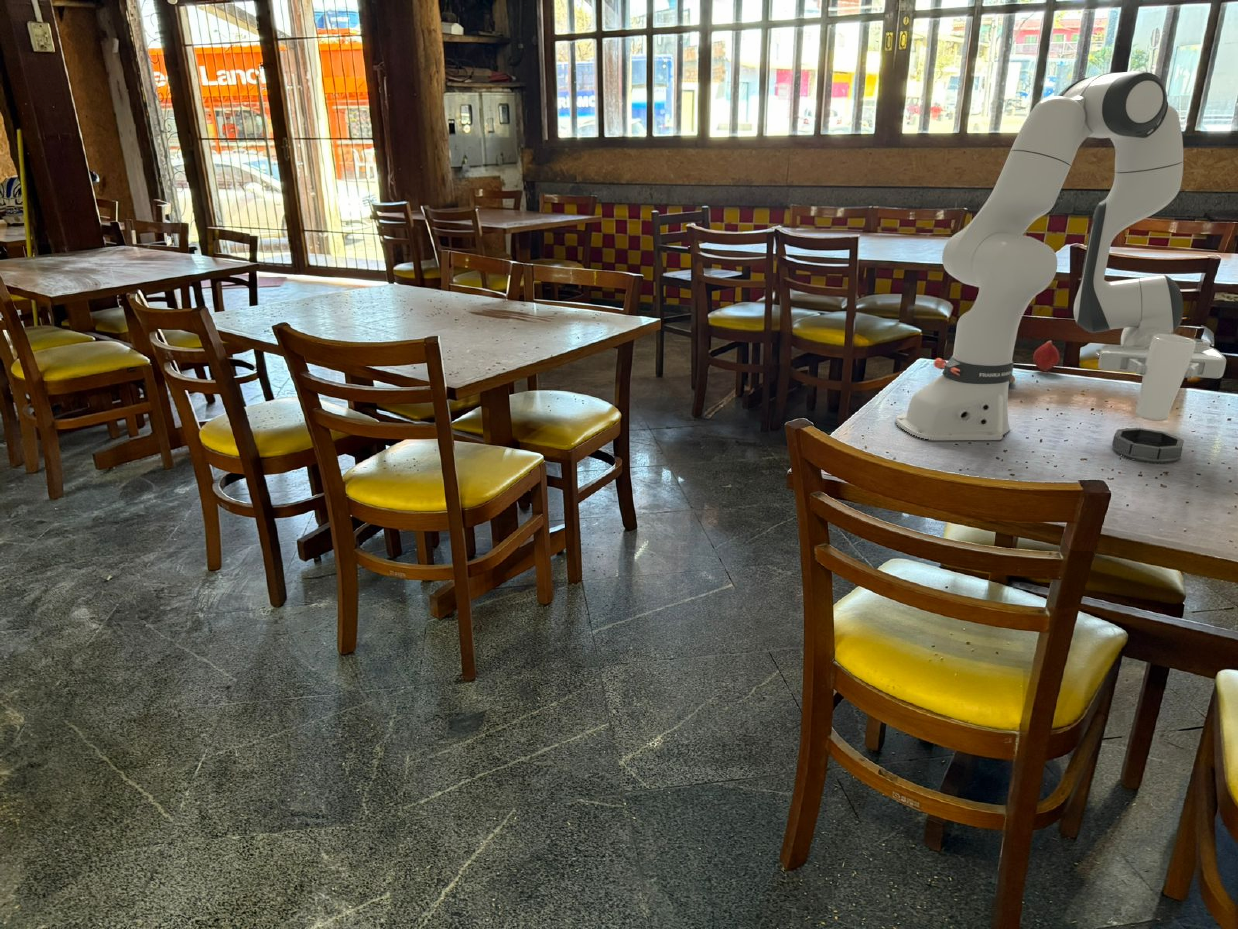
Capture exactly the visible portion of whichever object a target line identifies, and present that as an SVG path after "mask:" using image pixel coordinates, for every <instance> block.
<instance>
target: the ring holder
mask: <svg viewBox="0 0 1238 929" xmlns="http://www.w3.org/2000/svg"><path fill="white" fill-rule="evenodd" d="M1184 443H1185V440H1184V439H1183V438H1181V437H1178V436H1175V435H1174V434H1171V433H1169V432H1165V431H1160V430H1154V429H1148V428H1144V427H1143V428H1142V427H1139V428H1138V427H1131V428H1130V427H1129V428H1120V429H1119V428H1118V429H1116V431H1115V433H1114V435H1113V440H1112V443H1111V444H1112V445H1111V446H1112V448H1111V449H1113V450H1112V451H1113V452H1114V453H1115V452H1116V453H1117V454H1116V453H1115V454H1116V455H1118V454H1119V455H1118V456H1120V455H1122V456H1124V457H1123V458H1125V457H1126V458H1125V459H1127V460H1128V459H1129V460H1131V459H1134V460H1133V461H1135V460H1136V462H1140V463H1146V462H1149V463H1148V464H1155V463H1157V464H1158V465H1163V464H1166V463H1167V464H1173V463H1174V464H1175V463H1177V462H1178V461H1179V460H1180V459H1181V455H1182V451H1183V448H1184ZM1122 456H1121V457H1122ZM1159 463H1160V464H1159Z"/></svg>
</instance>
